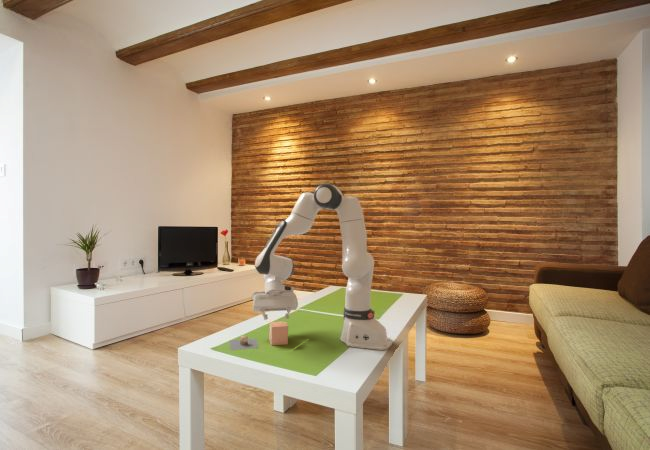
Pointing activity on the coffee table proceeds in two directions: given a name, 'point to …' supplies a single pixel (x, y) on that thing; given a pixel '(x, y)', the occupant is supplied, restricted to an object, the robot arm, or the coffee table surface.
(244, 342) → the tan rounded cylinder
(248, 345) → the mat
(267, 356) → the coffee table surface
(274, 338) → the peach foam cube
